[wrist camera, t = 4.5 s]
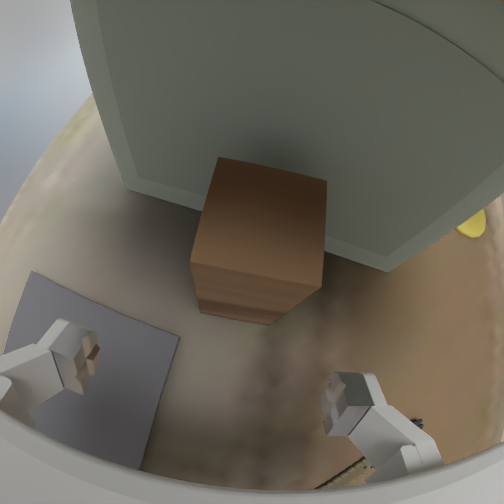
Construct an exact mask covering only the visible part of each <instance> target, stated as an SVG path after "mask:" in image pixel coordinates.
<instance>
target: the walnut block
mask: <svg viewBox="0 0 504 504" xmlns="http://www.w3.org/2000/svg"><path fill="white" fill-rule="evenodd" d="M326 203H327V181H326V180H323V179H319V178H315V177H311V176H307V175H303V174H299V173H295V172H290V171H286V170H282V169H277V168H273V167H268V166H263V165H259V164H254V163H249V162H244V161H239V160H234V159H228V158H223V157H218V159H217V163H216V166H215V169H214V173H213V176H212V179H211V183H210V186H209V190H208V193H207V197H206V200H205V204H204V207H203V211H202V214H201V218H200V222H199V226H198V229H197V233H196V237H195V241H194V245H193V248H192V252H191V256H190V260H189V262H190V267H191V272H192V277H193V281H194V286H195V290H196V295H197V299H198V304H199V308H200V312H201V313H205V314H209V315H214V316H219V317H225V318H230V319H235V320H240V321H246V322H251V323H257V324H263V325H270V324H271V323H273V322H274V321H275V320H277V319H278V318H280V317H281V316H282V315H284V314H285V313H287V312H288V311H289V310H291V309H292V308H294V307H295V306H296V305H298V304H299V303H300V302H302V301H303V300H304V299H306V298H307V297H309V296H310V295H311V294H313V293H314V292H315V291H317V290H318V289H319V288H321V286H322V274H323V260H324V245H325V227H326Z"/></svg>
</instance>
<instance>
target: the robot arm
mask: <svg viewBox="0 0 504 504" xmlns="http://www.w3.org/2000/svg"><path fill="white" fill-rule="evenodd" d="M98 339H99V338H98V333H97V331H96V330H94V329H91V328H88V327H85V326H82V325H79V324H76V323H74V322H70V321H67V320H65V319H62V318H60V319H57V320H56V321H55V322H54V324H53V325H52V326H51V327H50V328H49V330H48V331H47V332H46V333H45V334H44V336H43V337H42V338H41V339H40V341H39V342H38V343H37V344H30V345H28V346H25V347H22V348H20V349H17V350H15V351H12V352H9V353H7V354H4V355H2V356H0V504H504V442H501V443H499V444H497V445H494V446H492V447H490V448H488V449H486V450H483V451H481V452H478V453H476V454H474V455H471V456H468V457H466V458H463V459H460V460H458V461H455V462H452V463H449V464H446V465H444V463H443V461H442V458H441V456H440V453H439V451H438V448H437V446H436V444H435V441H434V439H433V438H431V437H430V436H429V435H427V434H426V433H425V432H424V431H422V430H421V429H420V428H419V427H417V426H416V425H415V424H414V423H412V422H411V421H410V420H409V419H407V418H406V417H405V416H404V415H402V414H401V413H400V412H399V411H397V410H396V409H395V408H394V407H392V406H391V405H389V406H388V405H387V402H386V400H385V398H384V395H383V393H382V390H381V388H380V386H379V383H378V381H377V378H376V376H375V375H374V374H373V373H349V372H334V373H333V374H332V375H331V377H330V379H329V380H330V385H328V386H327V387H325V388H324V390H323V392H322V395H321V400H320V407H321V412H322V413H323V414H324V415H325V416H326V418H325V420H324V421H323V422H324V427H325V432H326V436H348V438H349V439H350V440H351V442H352V443H353V444H354V445H355V446H356V448H357V449H358V450H359V451H360V452H361V453H362V455H363V456H364V457H365V458H366V459H367V460H368V461H369V463H370V464H371V465H372V466H373V467H374V468H375V469H376V471H375V472H373V473H372V474H371V475H370V476H369V477H368V478H367V479H366V480H365V481H366V484H361V485H354V486H346V487H336V488H324V489H307V490H261V489H244V488H232V487H223V486H214V485H207V484H200V483H194V482H188V481H183V480H178V479H173V478H168V477H164V476H159V475H155V474H151V473H147V472H143V471H140V470H136V469H133V468H129V467H126V466H123V465H119V464H116V463H113V462H110V461H107V460H104V459H102V458H99V457H96V456H93V455H91V454H88V453H86V452H83V451H81V450H78V449H76V448H73V447H71V446H69V445H66V444H64V443H62V442H60V441H58V440H56V439H53V438H51V437H49V436H47V435H45V434H43V433H41V432H39V431H37V430H36V429H34V427H35V423H34V421H33V419H32V417H31V416H30V414H29V411H30V410H32V409H33V408H35V407H37V406H38V405H40V404H41V403H43V402H44V401H46V400H48V399H49V398H51V397H52V396H54V395H55V394H57V393H58V392H60V391H62V390H63V389H64V388H66V389H69V390H71V391H74V392H77V393H80V394H83V395H85V393H86V391H87V389H88V387H89V385H90V383H91V379H90V376H91V375H93V374H95V373H96V372H97V370H98V368H99V365H100V361H101V350H100V347H99V346H98V345H97V344H96V343H97V341H98Z"/></svg>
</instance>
